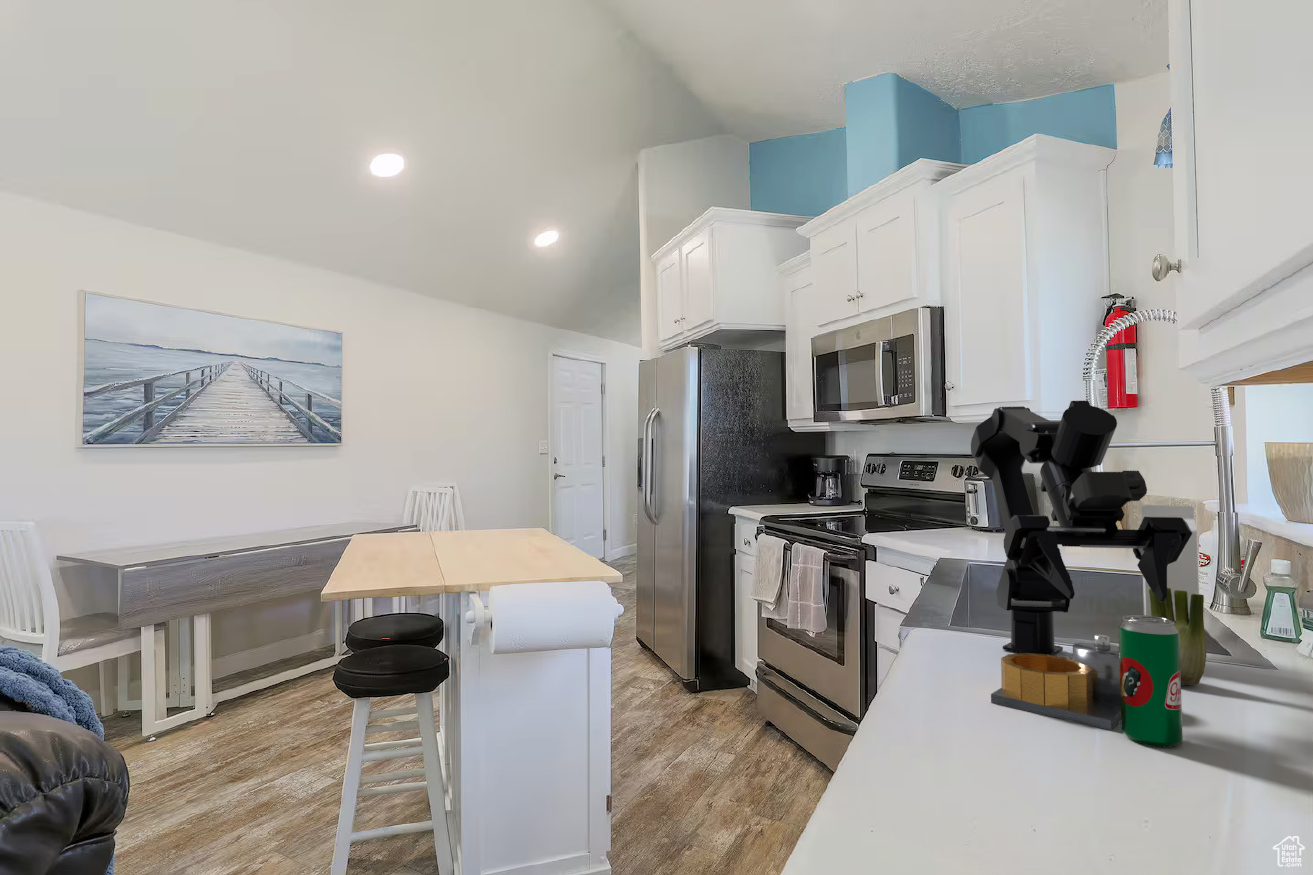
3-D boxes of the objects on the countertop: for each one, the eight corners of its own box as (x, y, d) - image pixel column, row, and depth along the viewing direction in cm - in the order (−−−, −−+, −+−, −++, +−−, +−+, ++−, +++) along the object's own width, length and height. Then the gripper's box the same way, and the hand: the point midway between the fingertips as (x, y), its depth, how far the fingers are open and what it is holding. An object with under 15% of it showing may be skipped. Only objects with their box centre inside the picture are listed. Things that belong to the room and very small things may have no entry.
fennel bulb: (1213, 689, 87) (1210, 591, 87) (1177, 691, 86) (1174, 592, 87) (1173, 675, 93) (1170, 583, 93) (1139, 677, 92) (1136, 584, 92)
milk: (1201, 673, 94) (1197, 507, 94) (1146, 666, 97) (1142, 505, 98) (1196, 662, 99) (1192, 504, 100) (1143, 656, 102) (1140, 503, 103)
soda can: (1182, 753, 67) (1178, 626, 68) (1119, 741, 70) (1116, 620, 71) (1183, 737, 71) (1179, 617, 72) (1123, 726, 74) (1120, 611, 75)
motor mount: (1030, 678, 91) (1029, 619, 92) (1141, 700, 83) (1139, 635, 83) (991, 702, 82) (989, 637, 82) (1111, 730, 73) (1109, 657, 74)
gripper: (1008, 448, 86) (1043, 550, 74) (1180, 447, 82) (1244, 554, 71) (991, 509, 93) (1020, 610, 82) (1148, 511, 90) (1201, 617, 78)
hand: (1117, 598), depth 78 cm, fingers open, 9 cm apart
